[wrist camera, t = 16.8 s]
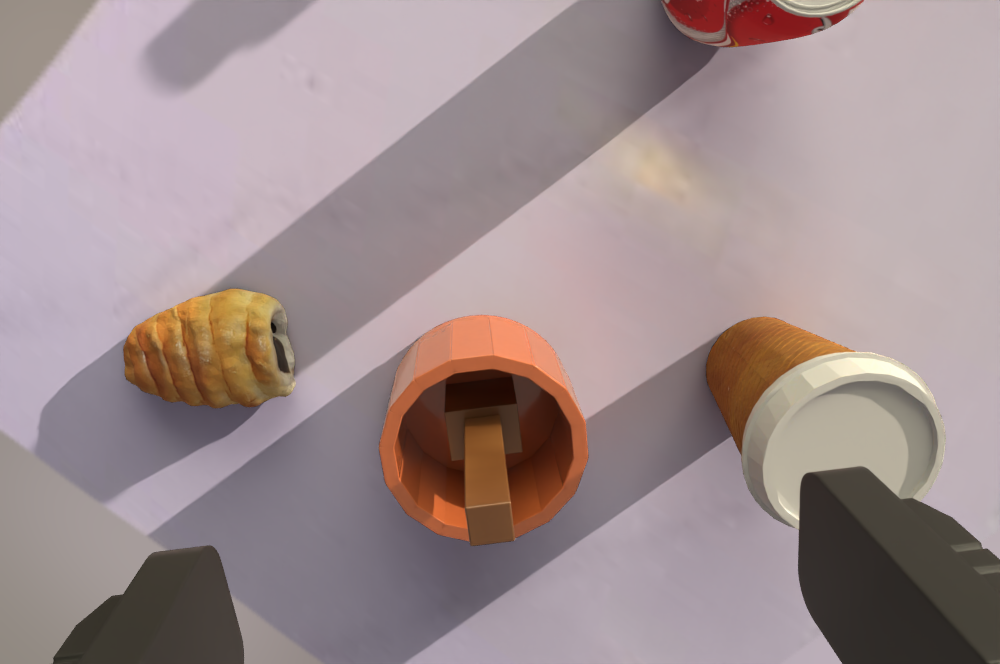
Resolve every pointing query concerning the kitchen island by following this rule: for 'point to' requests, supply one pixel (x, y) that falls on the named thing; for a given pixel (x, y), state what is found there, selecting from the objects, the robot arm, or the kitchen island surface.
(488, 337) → the crock
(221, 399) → the pastry
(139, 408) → the kitchen island surface
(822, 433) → the disposable coffee cup
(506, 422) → the wooden mallet
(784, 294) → the kitchen island surface
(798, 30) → the soda can
